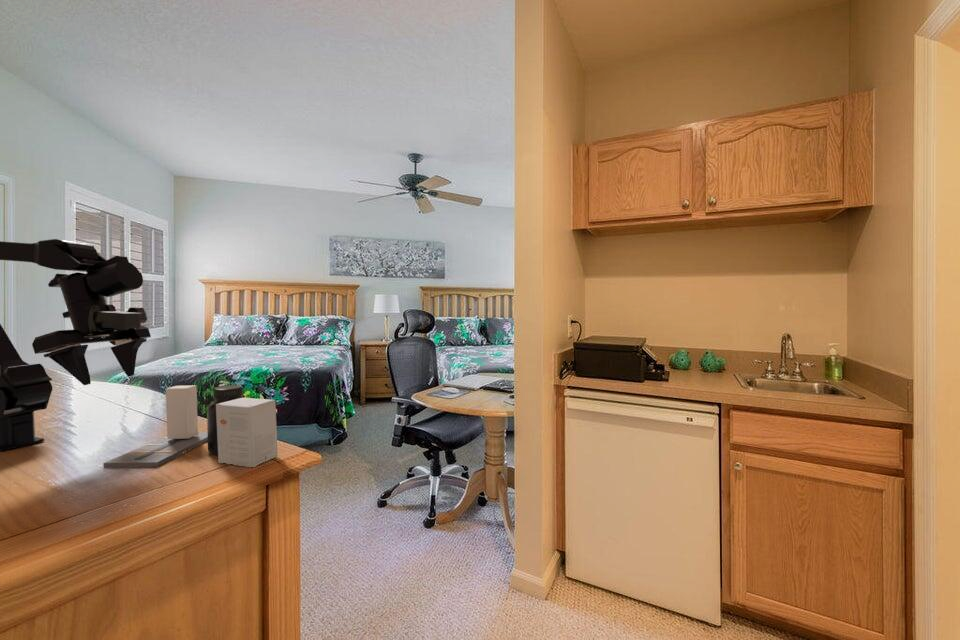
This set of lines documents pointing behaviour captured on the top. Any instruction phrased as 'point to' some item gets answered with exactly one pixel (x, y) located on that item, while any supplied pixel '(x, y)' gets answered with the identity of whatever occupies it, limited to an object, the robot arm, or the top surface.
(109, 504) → the top surface
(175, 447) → the board
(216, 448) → the supplement bottle
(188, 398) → the fader tab
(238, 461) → the small box
